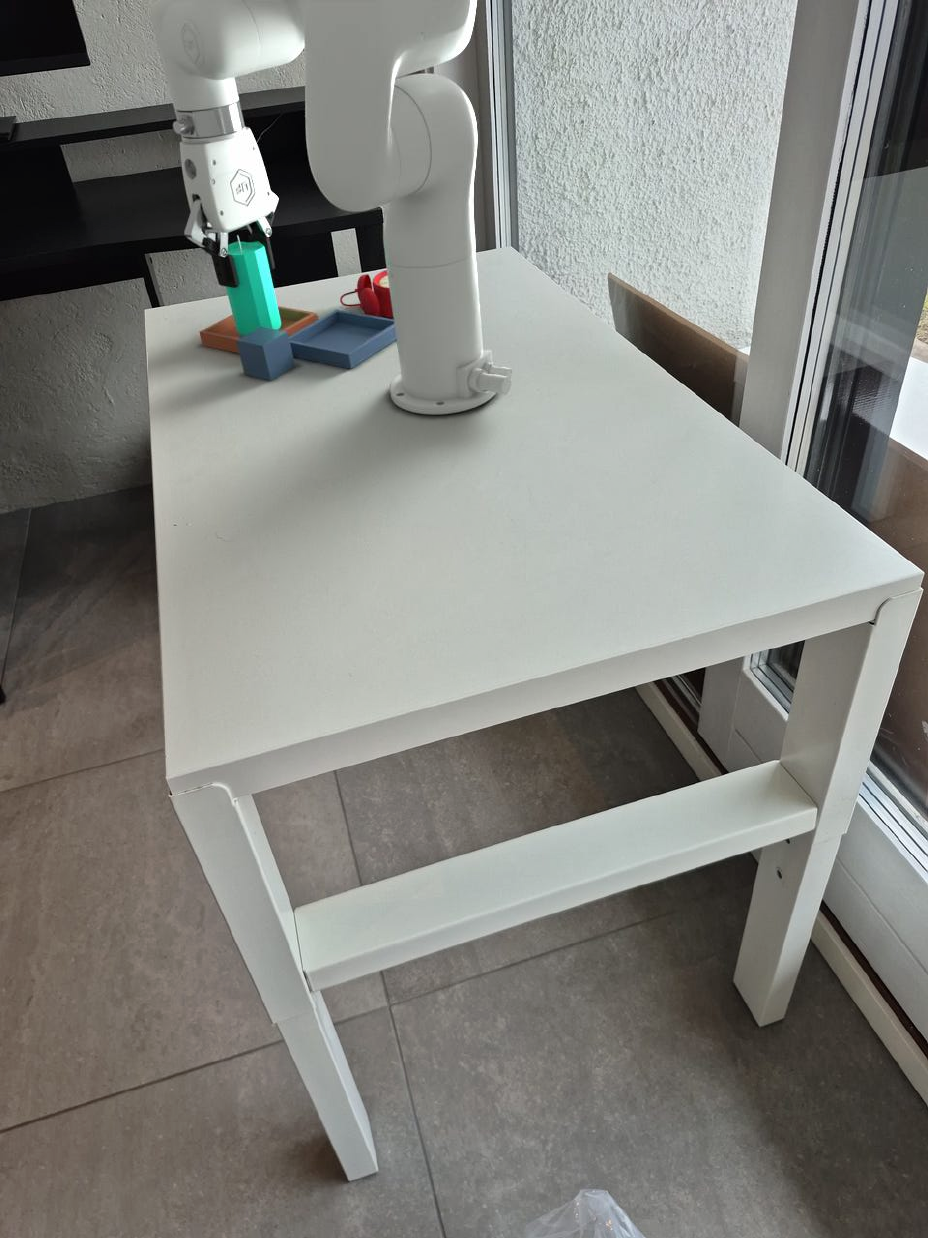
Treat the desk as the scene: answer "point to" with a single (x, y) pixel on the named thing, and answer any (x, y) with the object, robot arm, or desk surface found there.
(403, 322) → the robot arm
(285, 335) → the blue block
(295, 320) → the terracotta tray
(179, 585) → the desk surface
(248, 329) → the candle
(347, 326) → the blue tray
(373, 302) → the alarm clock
